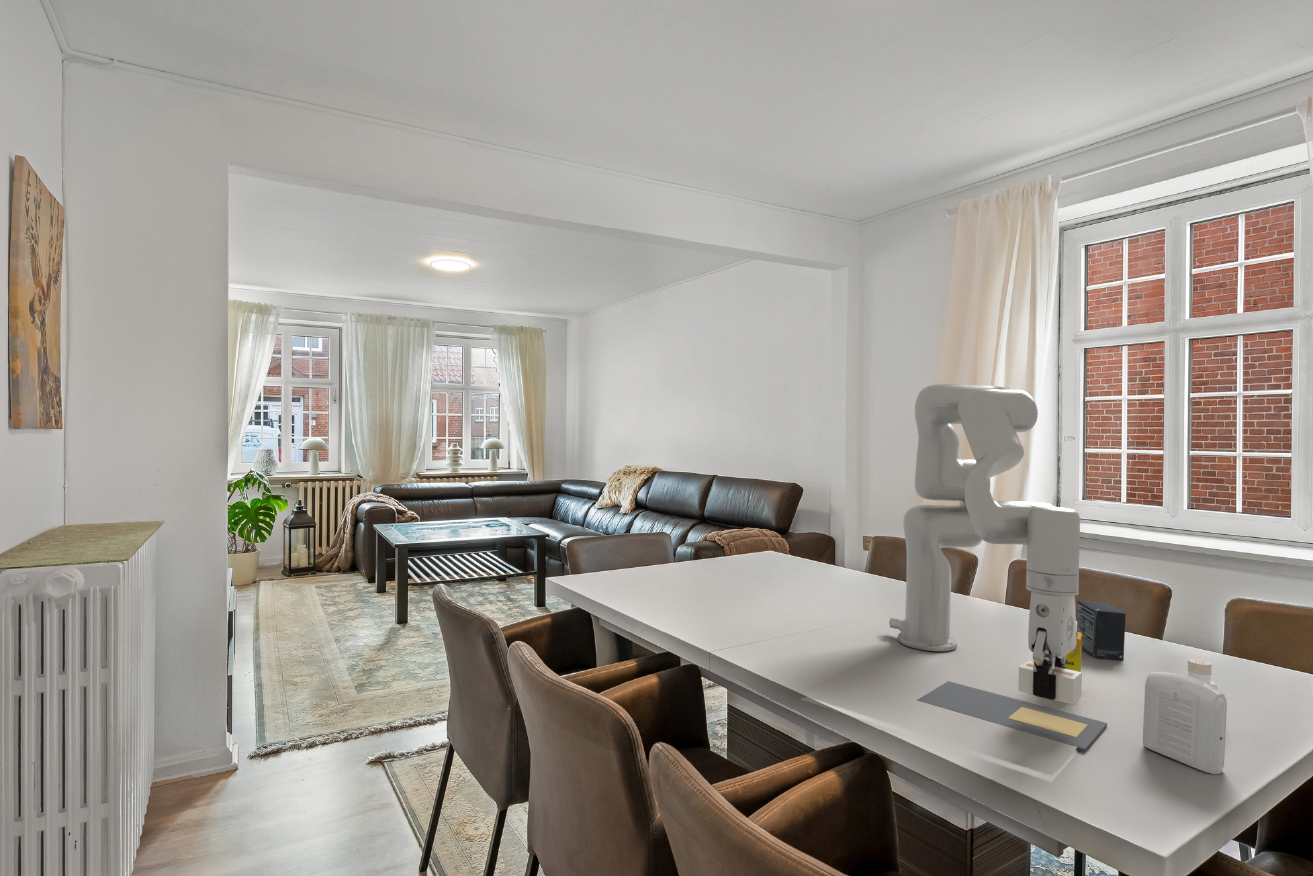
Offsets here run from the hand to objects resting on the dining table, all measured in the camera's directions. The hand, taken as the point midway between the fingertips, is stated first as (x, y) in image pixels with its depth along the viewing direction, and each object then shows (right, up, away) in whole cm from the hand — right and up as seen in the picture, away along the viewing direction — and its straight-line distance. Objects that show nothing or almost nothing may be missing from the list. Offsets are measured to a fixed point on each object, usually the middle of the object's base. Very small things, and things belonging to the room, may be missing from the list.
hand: (1049, 692), depth 115 cm
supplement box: (+12, -6, +17) cm, 21 cm away
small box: (+35, -7, +42) cm, 55 cm away
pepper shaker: (+29, -7, +6) cm, 30 cm away
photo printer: (+14, -6, -11) cm, 19 cm away
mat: (-4, -5, +4) cm, 8 cm away
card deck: (0, 0, 0) cm, 0 cm away
